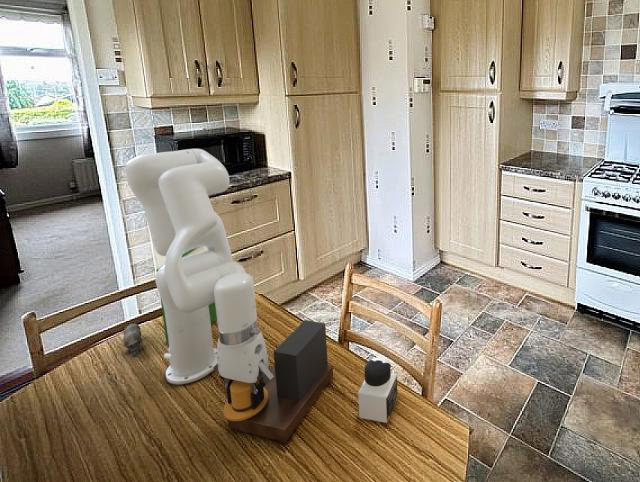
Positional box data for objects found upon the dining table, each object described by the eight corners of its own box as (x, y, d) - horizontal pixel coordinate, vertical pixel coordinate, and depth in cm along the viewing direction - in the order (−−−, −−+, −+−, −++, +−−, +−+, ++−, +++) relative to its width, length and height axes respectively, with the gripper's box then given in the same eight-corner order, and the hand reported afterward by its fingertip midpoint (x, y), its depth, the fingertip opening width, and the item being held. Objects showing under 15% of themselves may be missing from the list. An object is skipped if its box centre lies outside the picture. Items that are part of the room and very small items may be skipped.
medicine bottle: (387, 424, 85) (386, 378, 83) (358, 418, 87) (356, 373, 85) (398, 398, 92) (396, 355, 90) (371, 393, 94) (369, 351, 92)
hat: (213, 416, 82) (211, 394, 81) (245, 384, 91) (243, 364, 90) (248, 425, 80) (245, 402, 79) (276, 392, 88) (275, 371, 88)
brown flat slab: (228, 430, 84) (226, 415, 83) (284, 368, 102) (283, 355, 101) (286, 445, 80) (284, 429, 80) (333, 378, 98) (332, 365, 98)
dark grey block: (276, 396, 88) (272, 351, 86) (307, 360, 100) (304, 319, 98) (299, 401, 87) (295, 355, 85) (327, 364, 98) (325, 323, 96)
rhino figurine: (125, 367, 103) (122, 347, 102) (124, 341, 113) (121, 323, 112) (145, 359, 105) (142, 340, 104) (141, 335, 115) (139, 318, 114)
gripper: (283, 325, 84) (289, 395, 87) (220, 314, 88) (228, 382, 91) (259, 347, 77) (266, 423, 79) (192, 334, 81) (201, 407, 84)
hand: (246, 400), depth 85 cm, fingers closed on hat, 5 cm apart
